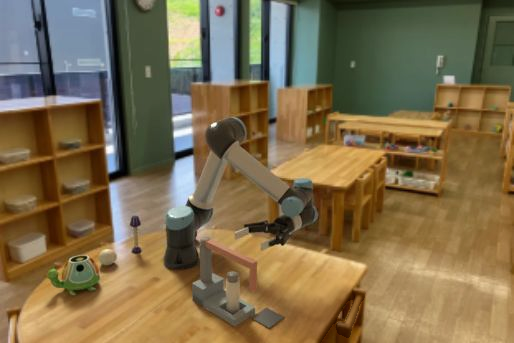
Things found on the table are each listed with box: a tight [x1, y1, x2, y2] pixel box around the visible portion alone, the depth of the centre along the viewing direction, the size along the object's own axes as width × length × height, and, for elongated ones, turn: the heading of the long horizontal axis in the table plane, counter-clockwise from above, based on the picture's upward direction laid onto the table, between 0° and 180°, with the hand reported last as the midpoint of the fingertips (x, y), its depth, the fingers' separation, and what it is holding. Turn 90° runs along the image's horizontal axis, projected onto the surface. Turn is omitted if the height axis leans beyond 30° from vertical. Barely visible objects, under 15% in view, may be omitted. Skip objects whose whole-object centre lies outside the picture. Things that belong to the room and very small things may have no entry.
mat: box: [250, 307, 285, 330], centre depth 143 cm, size 8×8×1 cm
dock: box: [191, 245, 256, 327], centre depth 146 cm, size 22×10×21 cm, turn 48°
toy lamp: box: [129, 215, 142, 254], centre depth 186 cm, size 5×5×17 cm
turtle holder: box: [46, 254, 101, 296], centre depth 158 cm, size 12×18×12 cm
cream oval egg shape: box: [98, 248, 118, 267], centre depth 176 cm, size 7×7×7 cm
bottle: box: [225, 271, 241, 315], centre depth 144 cm, size 5×5×15 cm
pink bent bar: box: [199, 236, 258, 293], centre depth 143 cm, size 26×4×10 cm, turn 48°
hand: (247, 241), depth 148 cm, fingers open, 13 cm apart
